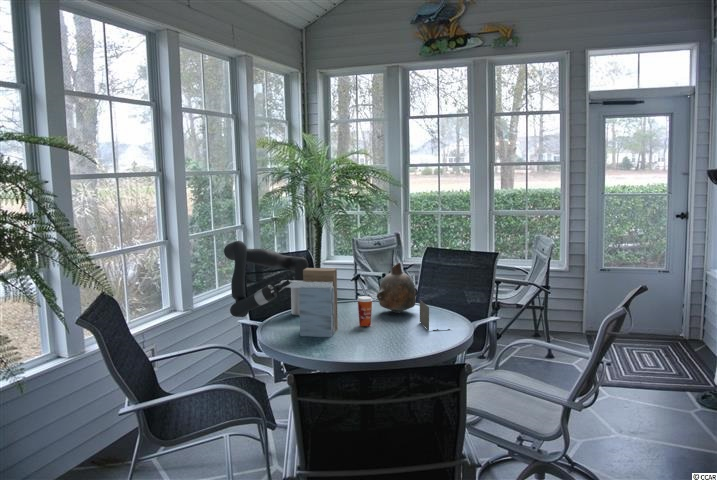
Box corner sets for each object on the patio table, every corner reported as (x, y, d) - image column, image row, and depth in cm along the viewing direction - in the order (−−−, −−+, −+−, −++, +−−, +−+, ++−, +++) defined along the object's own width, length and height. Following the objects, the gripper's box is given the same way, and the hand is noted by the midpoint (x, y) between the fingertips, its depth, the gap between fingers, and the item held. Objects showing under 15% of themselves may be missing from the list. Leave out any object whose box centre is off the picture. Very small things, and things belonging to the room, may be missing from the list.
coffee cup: (361, 327, 300) (361, 299, 298) (354, 324, 307) (354, 297, 305) (375, 325, 303) (375, 298, 302) (368, 322, 311) (368, 295, 309)
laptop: (451, 331, 294) (452, 306, 292) (428, 332, 292) (428, 307, 291) (441, 322, 312) (441, 298, 310) (419, 323, 310) (419, 299, 308)
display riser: (307, 328, 300) (306, 267, 297) (337, 329, 298) (336, 268, 294) (300, 335, 286) (298, 272, 282) (331, 337, 283) (330, 273, 279)
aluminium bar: (283, 285, 290) (282, 280, 290) (332, 287, 286) (332, 281, 286) (280, 287, 287) (280, 281, 287) (331, 288, 282) (331, 282, 282)
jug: (392, 306, 347) (392, 258, 344) (423, 311, 335) (423, 260, 331) (369, 315, 328) (369, 263, 324) (401, 320, 315) (401, 266, 312)
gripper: (256, 291, 284) (283, 276, 280) (266, 286, 298) (292, 271, 294) (264, 304, 284) (291, 289, 281) (273, 298, 298) (299, 283, 294)
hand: (291, 280), depth 287 cm, fingers open, 8 cm apart
